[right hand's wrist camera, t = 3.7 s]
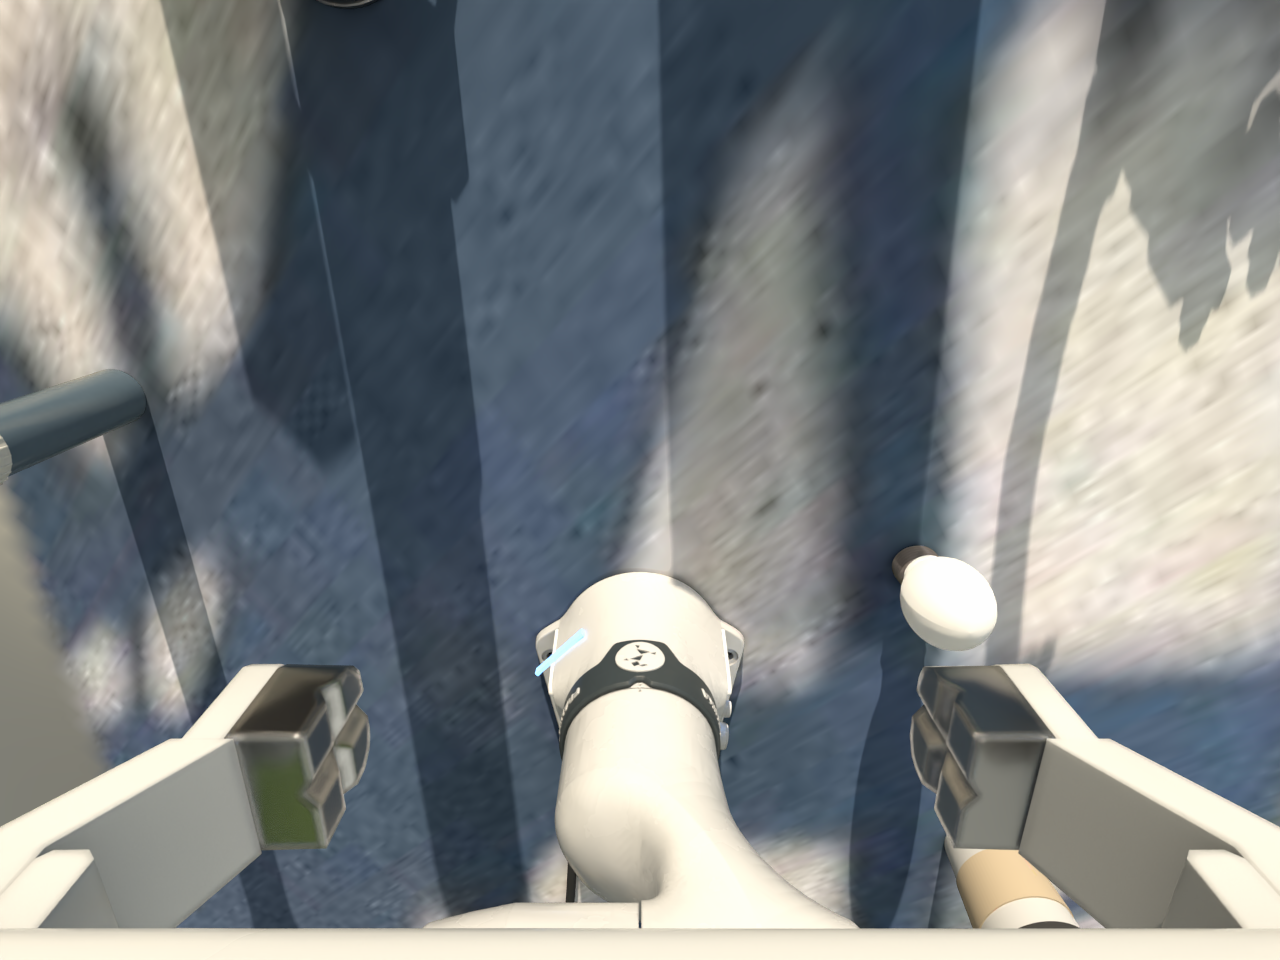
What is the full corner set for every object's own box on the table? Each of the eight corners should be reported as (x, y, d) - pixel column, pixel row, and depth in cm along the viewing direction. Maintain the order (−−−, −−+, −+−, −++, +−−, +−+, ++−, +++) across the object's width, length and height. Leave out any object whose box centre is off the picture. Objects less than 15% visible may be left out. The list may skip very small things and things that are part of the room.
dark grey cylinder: (96, 359, 57) (-80, 411, 43) (152, 384, 58) (-3, 443, 44) (83, 407, 59) (-91, 473, 45) (138, 431, 59) (-16, 503, 45)
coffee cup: (920, 828, 74) (985, 974, 60) (1004, 793, 73) (1092, 935, 59) (953, 884, 77) (1022, 1036, 63) (1035, 852, 75) (1125, 1000, 62)
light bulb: (870, 593, 64) (914, 668, 54) (886, 524, 62) (935, 589, 52) (945, 599, 65) (1003, 675, 54) (964, 531, 62) (1028, 596, 52)
